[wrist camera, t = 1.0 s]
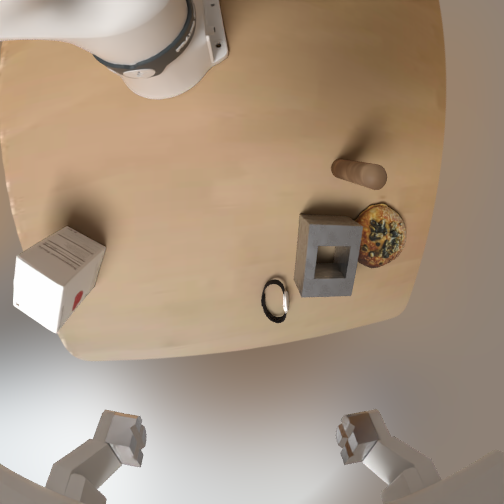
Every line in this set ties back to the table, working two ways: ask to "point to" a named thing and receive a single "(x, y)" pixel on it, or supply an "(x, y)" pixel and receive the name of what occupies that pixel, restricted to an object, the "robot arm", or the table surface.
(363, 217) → the bread roll
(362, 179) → the peg
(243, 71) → the table surface
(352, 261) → the socket block
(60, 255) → the supplement box
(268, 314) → the watch
